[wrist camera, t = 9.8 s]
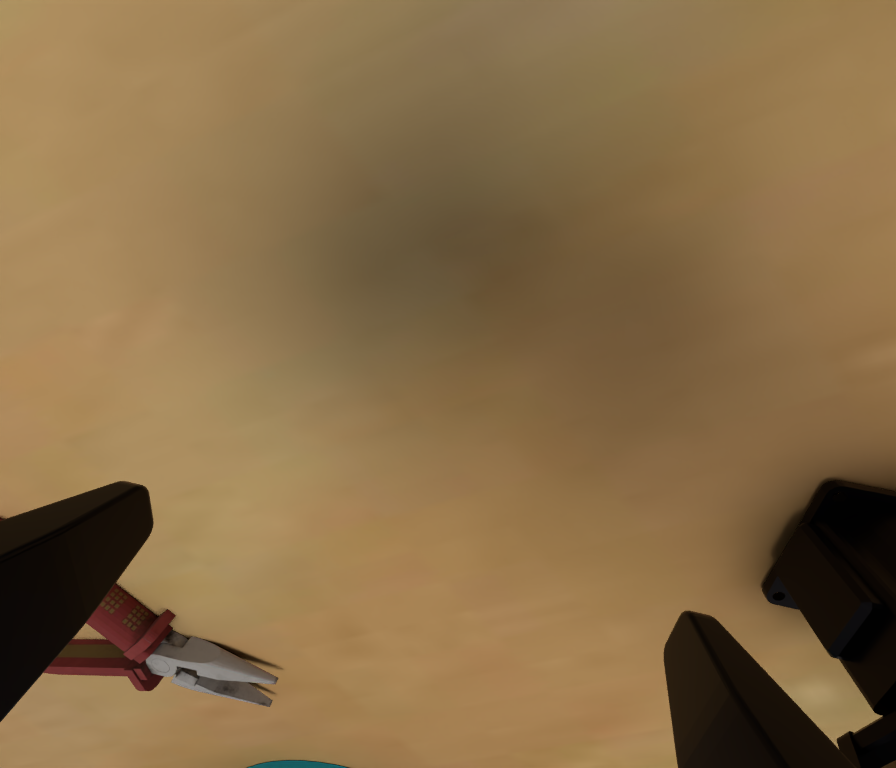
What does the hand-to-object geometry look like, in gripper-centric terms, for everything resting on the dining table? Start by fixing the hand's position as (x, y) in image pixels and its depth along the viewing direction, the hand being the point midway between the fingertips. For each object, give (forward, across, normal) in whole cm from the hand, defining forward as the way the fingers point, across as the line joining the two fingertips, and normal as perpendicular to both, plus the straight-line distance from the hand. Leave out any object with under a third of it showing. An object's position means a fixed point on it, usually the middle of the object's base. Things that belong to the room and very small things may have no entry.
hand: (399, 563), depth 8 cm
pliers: (+13, +20, +25) cm, 34 cm away
